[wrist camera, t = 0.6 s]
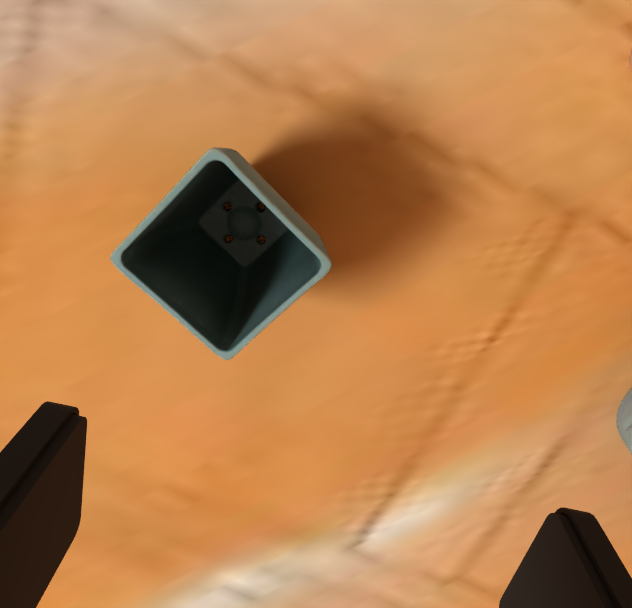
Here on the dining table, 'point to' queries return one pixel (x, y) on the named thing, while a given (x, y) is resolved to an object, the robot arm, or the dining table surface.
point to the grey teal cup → (625, 420)
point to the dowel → (630, 60)
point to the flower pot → (223, 253)
